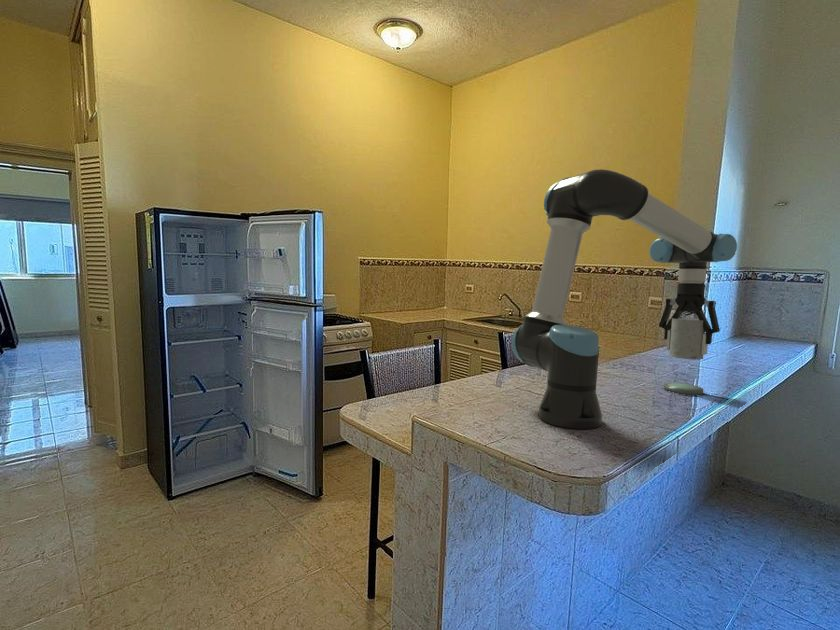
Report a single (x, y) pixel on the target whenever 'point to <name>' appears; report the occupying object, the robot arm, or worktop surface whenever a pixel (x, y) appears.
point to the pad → (683, 388)
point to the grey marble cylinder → (686, 338)
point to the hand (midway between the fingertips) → (686, 351)
